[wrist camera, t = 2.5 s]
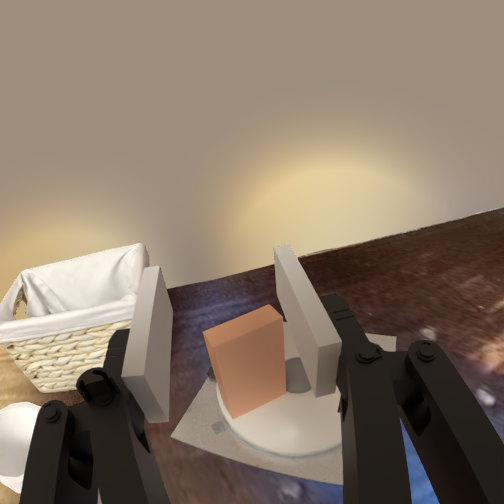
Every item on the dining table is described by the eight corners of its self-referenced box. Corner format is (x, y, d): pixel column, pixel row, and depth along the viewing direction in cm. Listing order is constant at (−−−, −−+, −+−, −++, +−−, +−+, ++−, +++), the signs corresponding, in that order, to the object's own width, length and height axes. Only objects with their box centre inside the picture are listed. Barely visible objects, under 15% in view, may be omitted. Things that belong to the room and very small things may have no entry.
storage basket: (32, 399, 37) (-18, 328, 30) (52, 334, 51) (19, 267, 44) (173, 383, 41) (140, 299, 34) (168, 313, 55) (146, 238, 48)
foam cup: (50, 526, 20) (-25, 479, 14) (49, 465, 28) (-12, 406, 21) (120, 525, 22) (52, 482, 16) (111, 459, 30) (56, 397, 24)
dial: (314, 315, 50) (314, 235, 43) (407, 394, 34) (438, 308, 27) (195, 369, 42) (170, 287, 35) (270, 487, 26) (259, 425, 20)
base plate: (395, 339, 44) (397, 332, 43) (375, 490, 25) (378, 486, 24) (246, 317, 52) (245, 310, 52) (171, 438, 33) (168, 433, 32)
